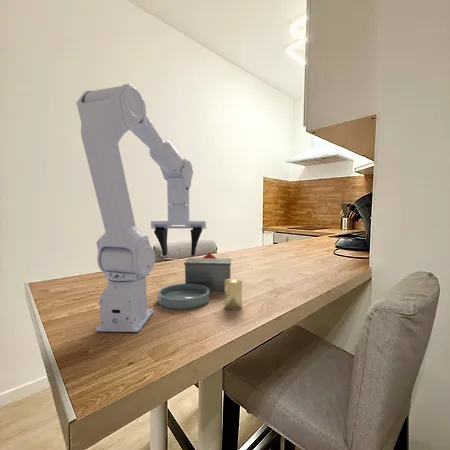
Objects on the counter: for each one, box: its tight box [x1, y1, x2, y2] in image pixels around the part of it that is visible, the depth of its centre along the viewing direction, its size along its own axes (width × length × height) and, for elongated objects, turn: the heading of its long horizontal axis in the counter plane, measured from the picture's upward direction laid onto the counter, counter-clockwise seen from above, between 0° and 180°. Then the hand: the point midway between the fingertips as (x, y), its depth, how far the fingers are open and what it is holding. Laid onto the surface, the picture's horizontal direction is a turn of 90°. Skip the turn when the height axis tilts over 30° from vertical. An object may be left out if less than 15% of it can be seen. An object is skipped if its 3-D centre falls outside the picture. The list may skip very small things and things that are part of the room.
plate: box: [156, 283, 211, 310], centre depth 67 cm, size 12×12×2 cm
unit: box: [183, 257, 232, 292], centre depth 76 cm, size 6×12×8 cm, turn 88°
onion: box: [202, 251, 216, 258], centre depth 88 cm, size 6×6×8 cm
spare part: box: [223, 278, 243, 311], centre depth 62 cm, size 4×4×6 cm
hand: (179, 255), depth 74 cm, fingers open, 7 cm apart
